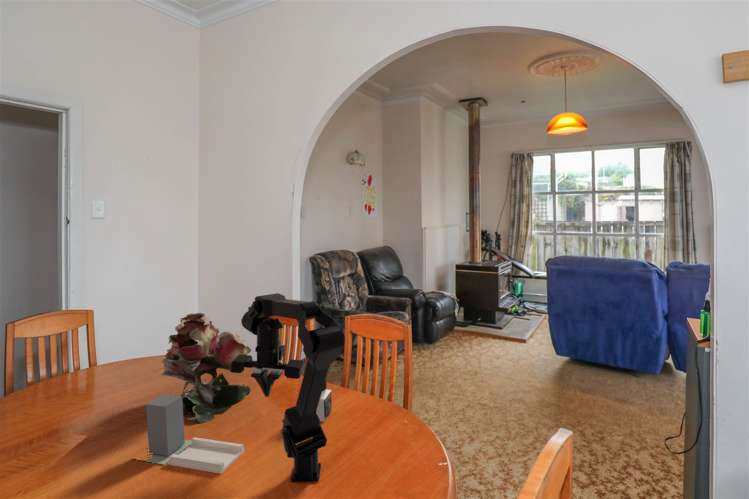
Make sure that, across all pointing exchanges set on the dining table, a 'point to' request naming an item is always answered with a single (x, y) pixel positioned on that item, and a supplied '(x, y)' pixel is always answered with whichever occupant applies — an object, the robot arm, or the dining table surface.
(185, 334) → the rose bouquet
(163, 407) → the gray block
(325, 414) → the medicine bottle
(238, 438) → the dining table surface
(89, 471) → the dining table surface
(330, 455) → the dining table surface
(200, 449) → the off-white chute
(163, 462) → the sage mat
